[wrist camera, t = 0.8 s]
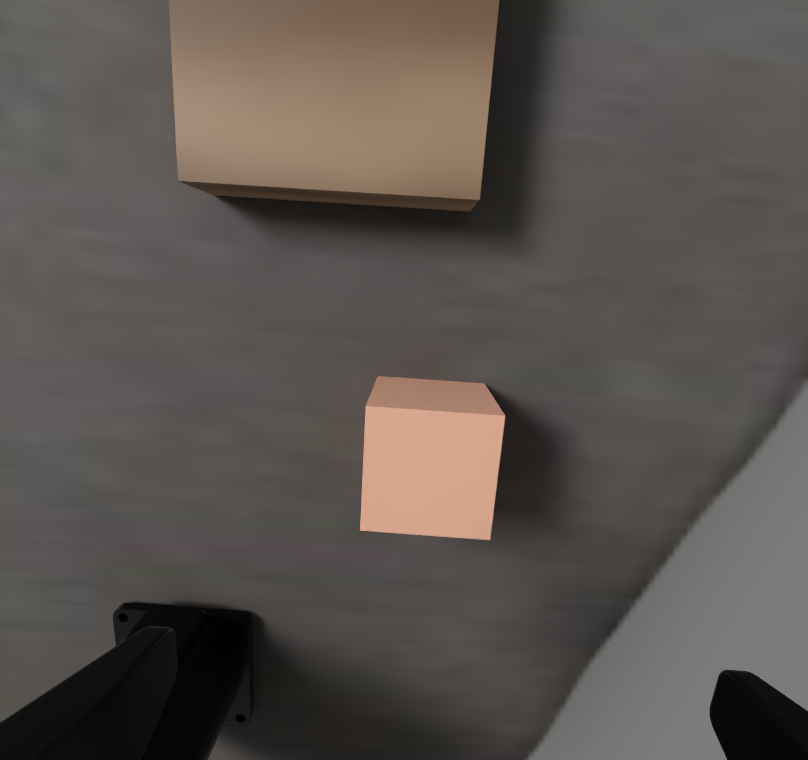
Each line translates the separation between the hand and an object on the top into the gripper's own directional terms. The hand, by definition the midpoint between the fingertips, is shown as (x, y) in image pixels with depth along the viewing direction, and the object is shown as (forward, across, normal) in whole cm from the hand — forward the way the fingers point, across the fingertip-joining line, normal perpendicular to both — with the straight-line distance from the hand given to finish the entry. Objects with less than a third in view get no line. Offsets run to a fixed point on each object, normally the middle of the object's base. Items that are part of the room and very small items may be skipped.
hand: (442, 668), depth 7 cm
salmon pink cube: (+12, 0, 0) cm, 12 cm away
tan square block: (+12, +4, -14) cm, 19 cm away
